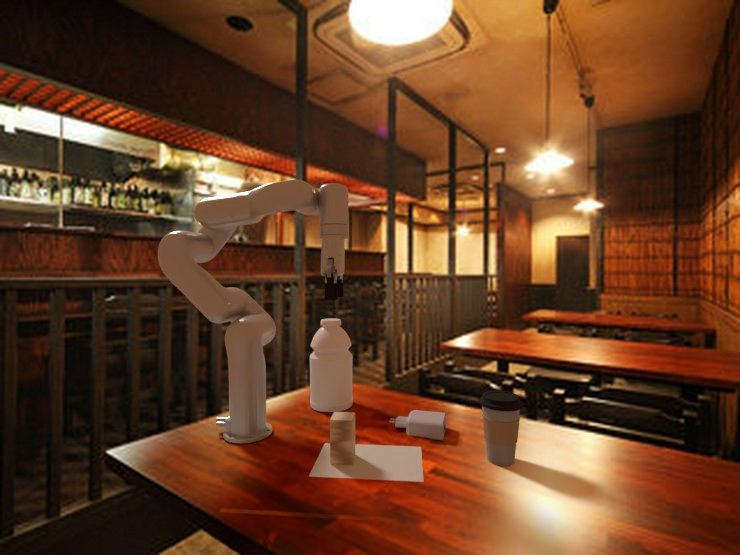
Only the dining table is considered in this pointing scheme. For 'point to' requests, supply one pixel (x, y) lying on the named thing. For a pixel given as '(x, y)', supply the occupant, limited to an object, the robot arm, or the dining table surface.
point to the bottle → (331, 368)
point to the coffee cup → (500, 425)
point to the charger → (423, 424)
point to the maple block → (342, 438)
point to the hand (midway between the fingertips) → (334, 298)
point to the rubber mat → (374, 464)
